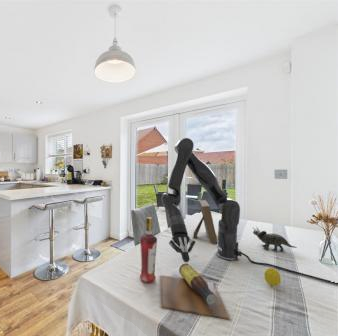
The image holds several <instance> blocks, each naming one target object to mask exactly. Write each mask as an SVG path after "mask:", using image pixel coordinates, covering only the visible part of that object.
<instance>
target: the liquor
mask: <svg viewBox="0 0 338 336" xmlns="http://www.w3.org/2000/svg"><path fill="white" fill-rule="evenodd" d="M145 224H146V225H145V234H142V235H141V236H140V238H139V239H140V240H139V241H140V275H139V278H140V279H141V280H142V281H143V282H144V283H147V284H149V283H152V282H154V281H156V275H155V274H156V257H157V247H158V246H157V245H158V238H157V237H156V236H155V235H154V234H153V229H152V228H153V227H152V224H153V217H150V216H146V217H145Z"/></svg>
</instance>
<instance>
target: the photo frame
mask: <svg viewBox="0 0 338 336" xmlns="http://www.w3.org/2000/svg"><path fill="white" fill-rule="evenodd" d="M199 206H200V210H201V215H202V217H201V219H200V221H199V222H198V224H197V226H196V228H195V229H194V231H193V234H192V238H193V239H194V238H197V237H198V234H199V232H200V229H201V227H202V225H203V224H204V228H205V233H206V236H207V238H208V241H209V243H210V244H218V236H217V234H216V229H215V224H214V220H213V216H212V211H211V207H210V204H209V203H208V201H207V200H206V199H202V200H199Z"/></svg>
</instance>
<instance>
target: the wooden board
mask: <svg viewBox="0 0 338 336" xmlns="http://www.w3.org/2000/svg"><path fill="white" fill-rule="evenodd" d="M160 281H161V283H160V284H161V306H162V307H161V308H162V309H166V310H167V309H168V310H173V311H177V312H178V311H179V312H184V313H190V314H196V315H201V316H206V317H207V316H208V317H212V318H218V319H223V320H224V319H225V320H230V315H229V314H228V312H227V310H226V307H225V306H224V303H223V301H222V300H221V297H220V295H219V292H218V291H217V289H216V286H215V284H214V282H210V281H206V283H207V284H208V288H209V290H210V291H211V292H213V293H214V294H215V296H216V298H217V299H216V302H215V303H214V304H211V305H210V304H208V303H207V302H206V301H205V299H204V298H203V297H202V296H201V295H199V294H197V293H196V292H194V291H193V289H192V288H191V287H190V286H189V285H188V283H187V282H186V281H185V280H184V278H183V277H174V276H168V275H160Z"/></svg>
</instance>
